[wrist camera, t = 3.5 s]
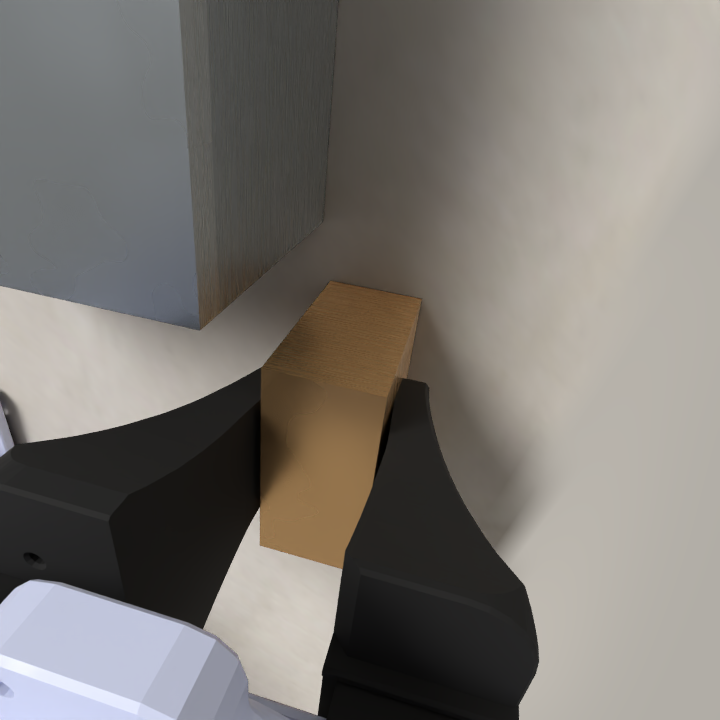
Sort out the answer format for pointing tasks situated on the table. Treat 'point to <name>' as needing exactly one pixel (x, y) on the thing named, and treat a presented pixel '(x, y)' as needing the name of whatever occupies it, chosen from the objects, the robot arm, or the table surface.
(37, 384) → the table surface
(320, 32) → the grey block with slot
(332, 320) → the orange rectangular block
